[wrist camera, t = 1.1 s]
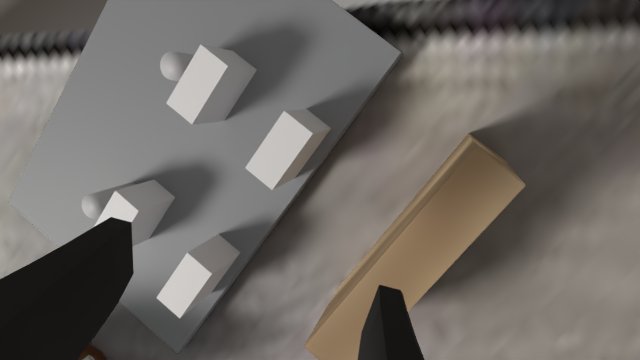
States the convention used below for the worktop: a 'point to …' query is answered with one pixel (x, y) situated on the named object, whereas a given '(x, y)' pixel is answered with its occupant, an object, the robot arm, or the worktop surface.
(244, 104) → the board
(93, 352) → the food container
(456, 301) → the worktop surface
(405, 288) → the oak block
